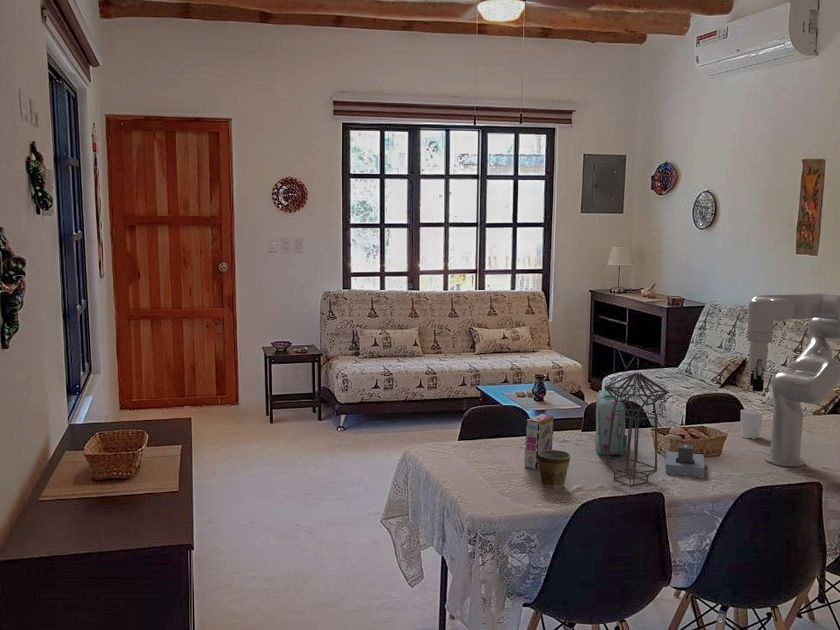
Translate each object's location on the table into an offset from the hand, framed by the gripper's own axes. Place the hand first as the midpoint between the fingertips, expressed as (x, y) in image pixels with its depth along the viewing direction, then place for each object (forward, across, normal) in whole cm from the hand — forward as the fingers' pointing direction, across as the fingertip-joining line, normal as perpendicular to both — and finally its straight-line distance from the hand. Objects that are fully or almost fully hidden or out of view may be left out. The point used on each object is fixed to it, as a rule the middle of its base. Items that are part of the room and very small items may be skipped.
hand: (756, 388), depth 268 cm
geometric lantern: (+28, +23, -37) cm, 52 cm away
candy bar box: (+28, +18, -68) cm, 76 cm away
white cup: (+28, -47, +3) cm, 55 cm away
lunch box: (+29, -10, -47) cm, 56 cm away
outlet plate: (+28, +4, -21) cm, 35 cm away
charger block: (+28, +6, -21) cm, 36 cm away
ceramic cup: (+28, +36, -61) cm, 76 cm away
